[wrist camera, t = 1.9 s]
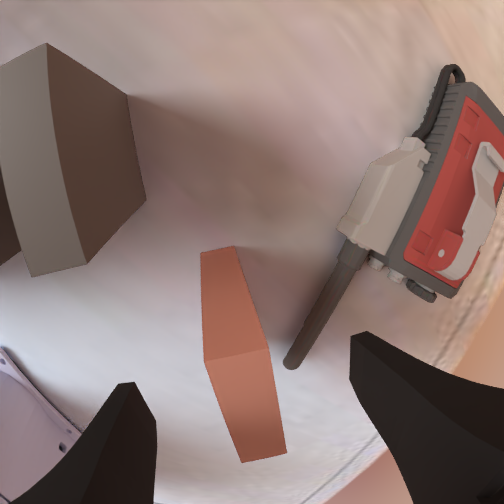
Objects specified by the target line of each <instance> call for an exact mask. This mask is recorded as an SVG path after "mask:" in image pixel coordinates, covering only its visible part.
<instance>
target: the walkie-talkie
mask: <svg viewBox="0 0 504 504" xmlns="http://www.w3.org/2000/svg"><path fill="white" fill-rule="evenodd" d="M451 73H453V75H454V76H455V84H448V81H449V78H450V75H451ZM434 89H435V90H434V93H432V99H431V100H430V101H429V103H430V105H429V107H427V109H426V110H427V113H426V115H424V121H423V123H421V126H420V128H419V129H418V130H416V131H415V132H414V133H413V135H412V137H405V138H404V140H403V142H402V145H401V147H399V148H398V149H396V150H394V151H392V152H390V153H388V154H386V155H385V156H383V157H381V158H379V159H377V160H375V161H373V162H371V163H370V165H369V168H368V170H367V172H366V174H365V176H364V178H363V181H362V183H361V185H360V187H359V189H358V191H357V193H356V195H355V198H354V200H353V202H352V204H351V206H350V208H349V210H348V212H347V214H346V215H344V216H343V217H342V218H341V220H340V222H339V224H338V226H337V228H336V229H337V230H338V231H340V232H341V233H343V234H344V235H346V236H347V239H346V241H345V243H344V245H343V247H342V249H341V251H340V253H339V255H338V257H337V259H338V263H337V265H336V267H335V269H334V271H333V273H332V274H331V276H330V278H329V280H328V282H327V283H326V285H325V287H324V289H323V291H322V292H321V294H320V296H319V298H318V300H317V301H316V303H315V305H314V307H313V308H312V310H311V312H310V314H309V315H308V317H307V319H306V320H305V322H304V326H303V328H302V330H301V331H300V333H299V335H298V336H297V338H296V340H295V342H294V343H293V345H292V347H291V348H290V350H289V352H288V353H287V355H286V357H285V358H284V360H283V365H284V366H285V367H286V368H287V369H289V370H294V369H297V368H298V367H299V366H300V364H301V363H302V361H303V360H304V358H305V357H306V355H307V353H308V352H309V350H310V349H311V347H312V346H313V344H314V342H315V341H316V339H317V338H318V336H319V334H320V333H321V331H322V329H323V328H324V326H325V324H326V323H327V321H328V319H329V318H330V316H331V314H332V313H333V311H334V309H335V307H336V306H337V304H338V302H339V301H340V299H341V297H342V295H343V294H344V292H345V290H346V288H347V286H348V285H349V283H350V281H351V279H352V277H353V276H354V274H355V272H356V271H357V270H360V268H361V266H362V264H363V262H364V260H365V259H366V257H367V255H368V253H369V254H371V255H369V256H368V257H370V258H371V259H370V260H369V262H368V265H369V266H370V267H372V268H373V269H375V270H377V271H381V269H382V267H383V265H384V266H388V267H389V269H390V272H389V274H388V276H387V277H388V278H389V279H391V280H392V281H394V282H396V283H398V284H400V283H401V281H402V280H403V278H407V277H408V278H410V279H412V280H408V282H407V284H406V286H407V288H408V289H409V290H410V291H411V292H413V293H414V294H415V295H417V296H419V297H420V298H422V299H424V300H425V301H427V302H430V303H433V302H434V301H435V299H436V298H437V296H436V294H435V291H436V292H438V293H440V294H441V295H443V296H445V297H447V298H450V299H451V298H452V297H454V296H455V295H456V294H457V292H458V290H459V289H460V287H461V285H462V283H463V281H464V279H465V278H466V277H468V276H469V274H470V273H471V271H472V269H473V267H474V265H475V263H476V261H477V258H478V256H479V254H480V251H478V250H479V248H480V246H481V245H482V246H483V245H484V243H485V241H486V239H487V236H488V234H489V232H490V229H491V227H492V225H493V222H494V220H495V217H496V207H497V203H498V201H499V198H500V195H501V193H502V189H503V186H504V116H503V115H502V114H501V112H500V111H499V110H498V108H497V107H496V106H495V105H494V103H493V102H492V101H491V100H490V99H489V97H488V96H487V95H486V94H485V93H484V92H483V90H482V89H481V88H480V87H479V86H478V85H476V84H474V83H473V82H465V76H464V73H463V72H462V70H461V69H460V67H459V66H457V65H456V64H450V65H446V66H444V68H443V69H442V70H441V72H440V75H439V78H438V81H437V84H436V87H434Z"/></svg>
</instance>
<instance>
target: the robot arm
mask: <svg viewBox="0 0 504 504" xmlns="http://www.w3.org/2000/svg"><path fill="white" fill-rule="evenodd" d="M349 380H350V382H351V384H352V387H353V389H354V391H355V393H356V395H357V398H358V400H359V402H360V404H361V405H362V407H363V409H364V410H365V412H366V413H367V415H368V416H369V418H370V420H371V421H372V423H373V424H374V426H375V428H376V429H377V431H378V432H379V434H380V435H381V437H382V439H383V440H384V442H385V443H386V445H387V446H388V448H389V450H390V452H391V453H392V455H393V457H394V459H395V461H396V463H397V465H398V467H399V470H400V472H401V474H402V476H403V479H404V481H405V483H406V486H407V488H408V491H409V493H410V496H411V498H412V501H413V504H504V389H502V388H497V387H492V386H488V385H483V384H480V383H476V382H472V381H469V380H466V379H463V378H460V377H457V376H455V375H452V374H449V373H447V372H444V371H442V370H440V369H438V368H435V367H433V366H431V365H429V364H427V363H425V362H423V361H421V360H419V359H417V358H415V357H413V356H411V355H409V354H407V353H405V352H403V351H402V350H400V349H398V348H396V347H395V346H393V345H391V344H389V343H388V342H386V341H384V340H382V339H381V338H379V337H377V336H375V335H374V334H372V333H370V332H368V331H365V332H362V333H359V334H356V335H352V336H351V343H350V375H349ZM156 456H157V430H156V420H155V418H154V416H153V415H152V413H151V411H150V409H149V408H148V406H147V404H146V402H145V401H144V399H143V397H142V395H141V393H140V391H139V389H138V387H137V386H136V384H135V382H130V383H121V384H118V385H117V386H116V388H115V389H114V390H113V392H112V393H111V394H110V396H109V397H108V399H107V400H106V402H105V403H104V404H103V406H102V407H101V409H100V410H99V412H98V413H97V414H96V416H95V417H94V419H93V420H92V421H91V423H90V424H89V426H88V427H87V428H86V430H85V431H84V432H83V433H81V432H79V431H78V430H77V429H76V428H75V427H74V426H73V425H72V424H71V423H69V422H68V421H67V420H66V419H65V418H64V417H63V416H62V415H61V414H60V413H59V412H58V411H57V410H56V409H55V408H54V407H53V406H52V405H51V404H50V403H49V402H48V401H47V400H46V399H45V398H44V397H43V396H42V395H41V394H40V393H39V391H38V390H37V389H36V388H35V387H34V386H33V385H32V384H31V383H30V382H29V380H28V379H27V378H26V377H25V376H24V375H23V373H22V372H21V371H20V370H19V369H18V368H17V366H16V365H15V364H14V363H13V361H12V360H11V359H10V358H9V356H8V355H7V354H6V353H5V351H4V350H3V349H2V348H0V504H153V498H154V483H155V469H156Z"/></svg>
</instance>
